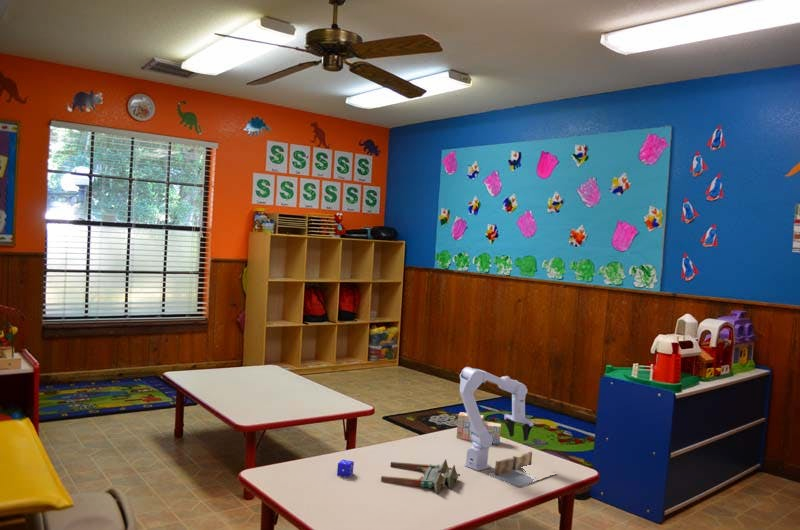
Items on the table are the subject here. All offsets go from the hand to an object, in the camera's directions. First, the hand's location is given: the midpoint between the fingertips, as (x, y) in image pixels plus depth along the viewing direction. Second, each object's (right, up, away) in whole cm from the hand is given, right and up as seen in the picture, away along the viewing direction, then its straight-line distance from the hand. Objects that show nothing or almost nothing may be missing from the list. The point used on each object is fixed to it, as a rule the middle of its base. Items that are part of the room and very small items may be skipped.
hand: (518, 438), depth 275 cm
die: (-76, -6, -30) cm, 82 cm away
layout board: (-1, -12, -14) cm, 18 cm away
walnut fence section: (-9, -11, -14) cm, 20 cm away
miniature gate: (-45, -9, -28) cm, 54 cm away
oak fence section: (+1, -11, -5) cm, 12 cm away
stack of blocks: (-15, -10, +31) cm, 36 cm away
